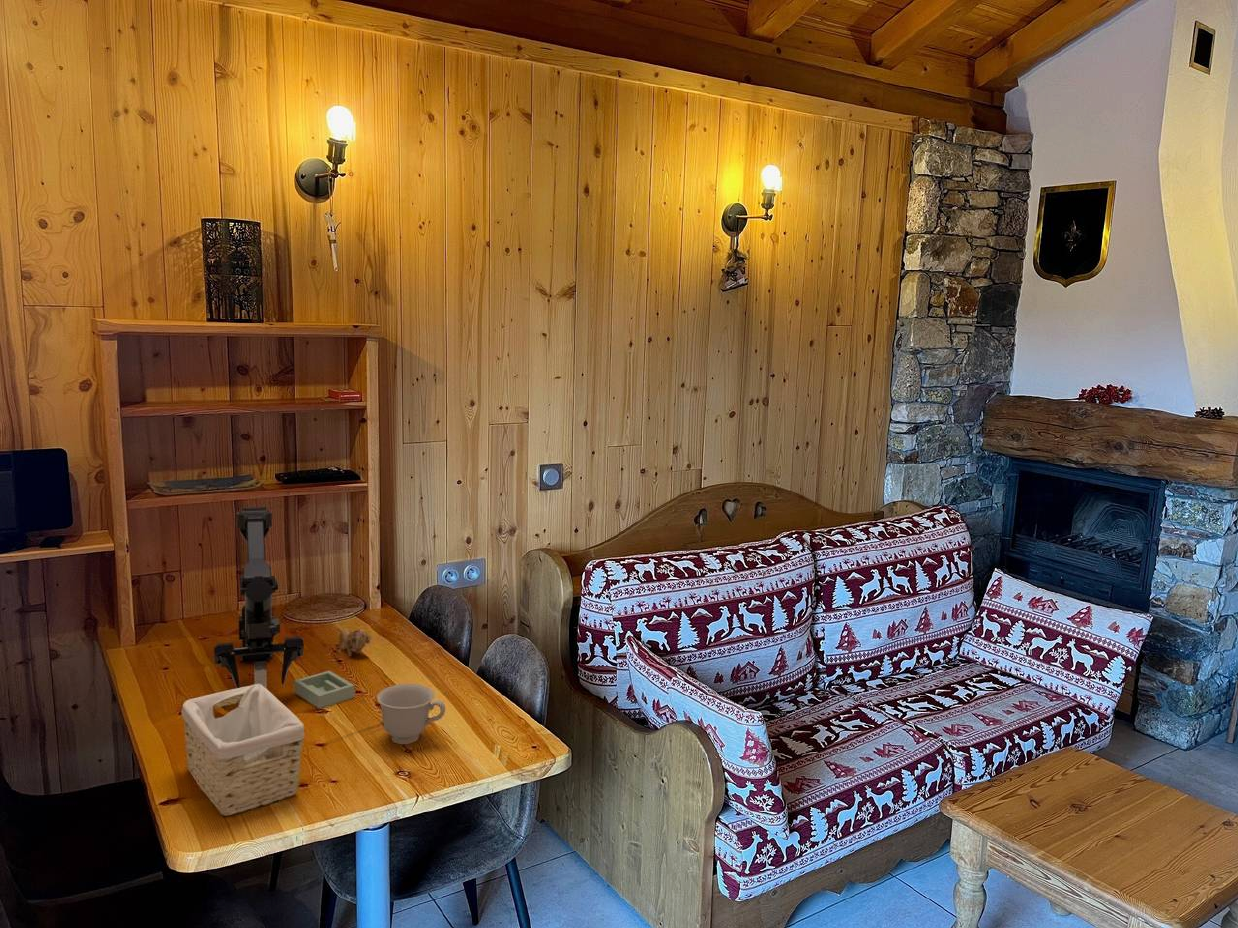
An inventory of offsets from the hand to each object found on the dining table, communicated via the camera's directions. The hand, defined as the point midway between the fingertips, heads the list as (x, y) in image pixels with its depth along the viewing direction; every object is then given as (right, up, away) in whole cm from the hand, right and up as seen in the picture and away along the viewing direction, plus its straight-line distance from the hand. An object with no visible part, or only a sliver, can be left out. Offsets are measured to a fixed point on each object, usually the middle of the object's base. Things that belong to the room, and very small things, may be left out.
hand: (260, 686), depth 202 cm
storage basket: (+6, -13, -25) cm, 29 cm away
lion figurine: (+9, -2, +37) cm, 38 cm away
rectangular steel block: (-1, -6, +2) cm, 7 cm away
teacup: (+35, -11, -4) cm, 36 cm away
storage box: (+11, -6, +11) cm, 16 cm away
